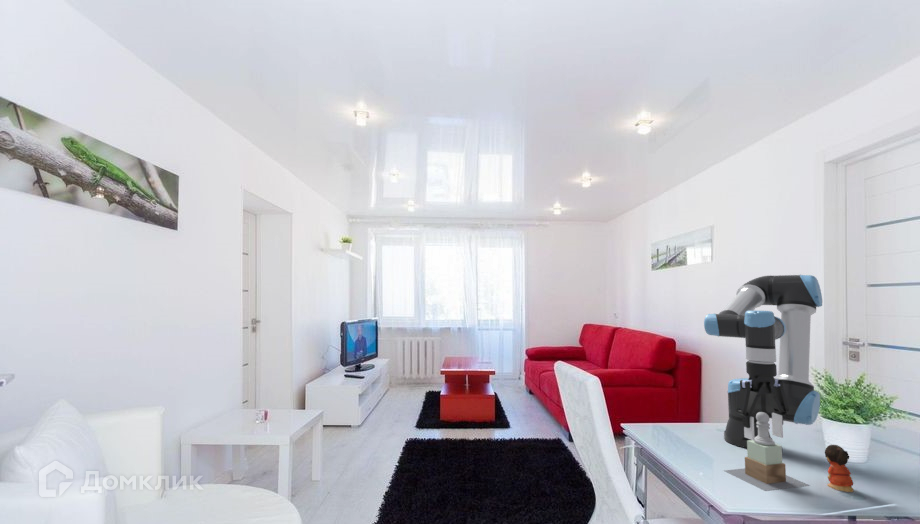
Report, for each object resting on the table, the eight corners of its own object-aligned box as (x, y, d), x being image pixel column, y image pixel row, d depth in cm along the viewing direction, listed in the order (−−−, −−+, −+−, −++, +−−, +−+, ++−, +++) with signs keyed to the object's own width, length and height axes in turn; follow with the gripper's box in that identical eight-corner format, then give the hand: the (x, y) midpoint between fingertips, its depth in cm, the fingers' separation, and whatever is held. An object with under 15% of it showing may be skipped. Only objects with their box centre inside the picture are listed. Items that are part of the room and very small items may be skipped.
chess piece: (748, 441, 131) (747, 410, 131) (761, 439, 132) (760, 409, 133) (766, 447, 126) (765, 415, 126) (779, 445, 127) (778, 414, 128)
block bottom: (763, 471, 133) (763, 455, 133) (785, 481, 126) (785, 463, 126) (745, 473, 131) (744, 456, 131) (766, 483, 124) (766, 465, 124)
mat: (765, 467, 137) (765, 466, 137) (810, 486, 123) (810, 485, 123) (723, 471, 133) (723, 470, 133) (765, 492, 120) (765, 490, 120)
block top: (763, 455, 132) (762, 439, 133) (782, 463, 126) (781, 445, 127) (747, 457, 131) (746, 440, 131) (765, 465, 125) (765, 447, 125)
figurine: (860, 493, 120) (858, 448, 121) (846, 495, 118) (844, 450, 119) (835, 483, 126) (833, 441, 127) (821, 485, 124) (819, 442, 125)
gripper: (778, 358, 137) (781, 430, 135) (719, 360, 132) (722, 435, 130) (802, 362, 130) (805, 438, 128) (741, 364, 124) (744, 444, 123)
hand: (763, 437), depth 129 cm, fingers open, 10 cm apart
